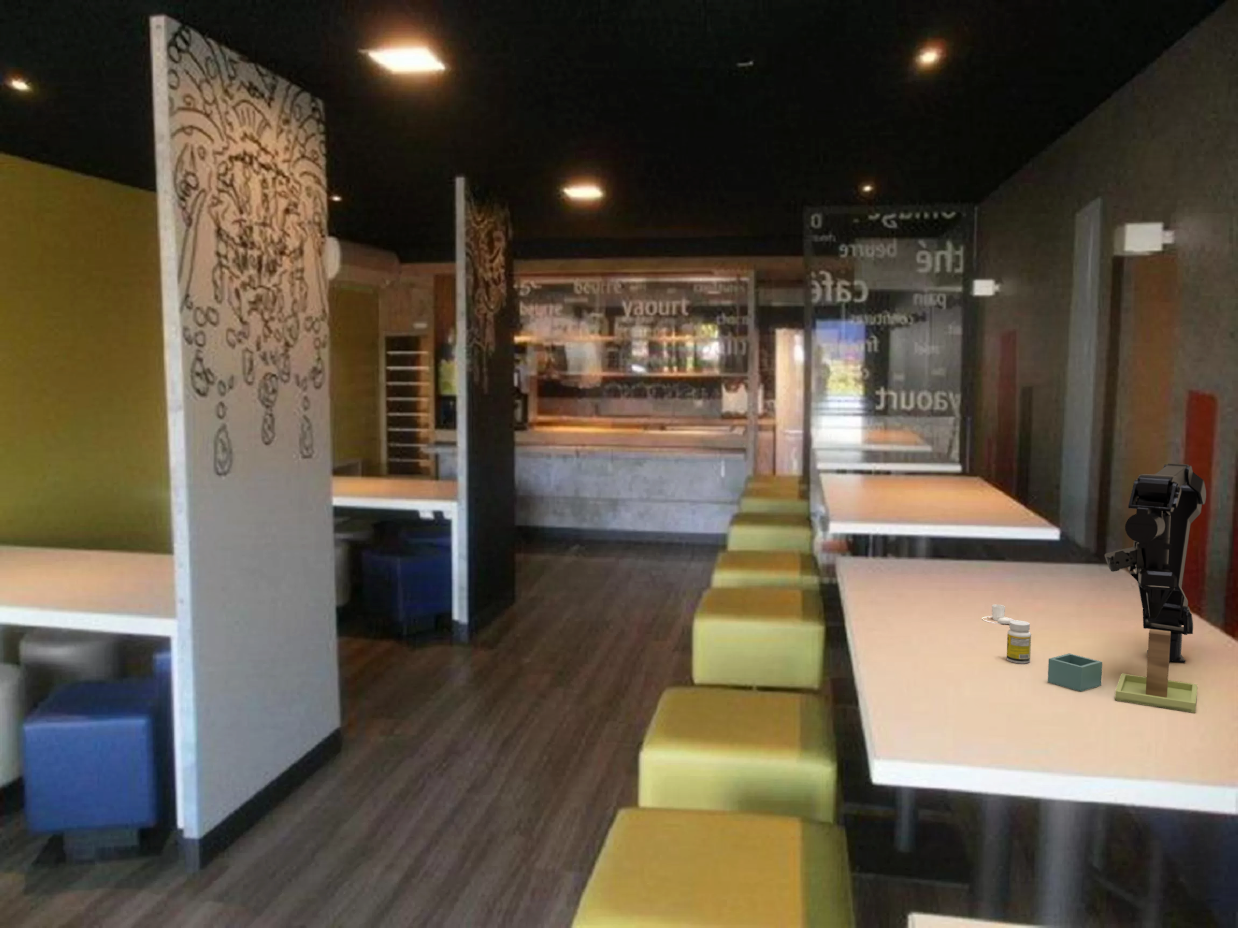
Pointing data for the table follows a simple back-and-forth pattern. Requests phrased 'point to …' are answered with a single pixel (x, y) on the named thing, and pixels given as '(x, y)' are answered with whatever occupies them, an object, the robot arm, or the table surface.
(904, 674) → the table surface
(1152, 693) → the walnut stick
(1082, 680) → the teal open box
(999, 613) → the teacup and saucer
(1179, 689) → the olive tray
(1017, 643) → the supplement bottle
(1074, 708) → the table surface
